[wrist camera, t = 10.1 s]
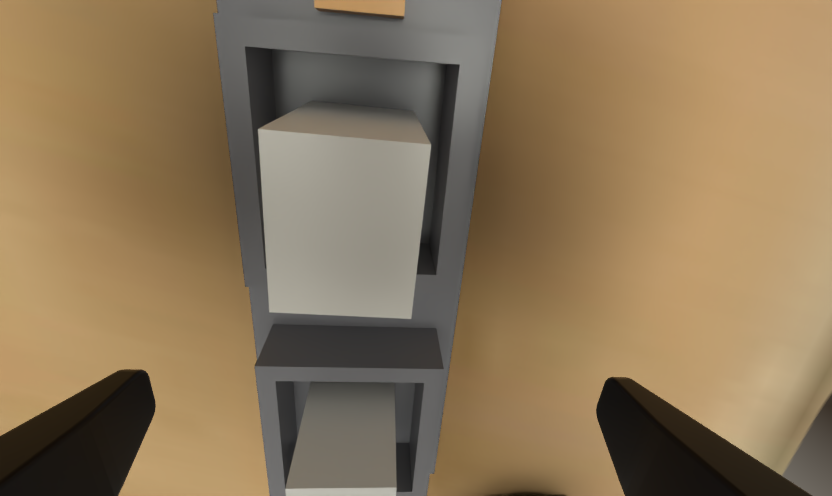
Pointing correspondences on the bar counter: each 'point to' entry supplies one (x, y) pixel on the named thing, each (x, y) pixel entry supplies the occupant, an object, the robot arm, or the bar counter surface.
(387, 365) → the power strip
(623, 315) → the bar counter surface
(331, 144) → the plug
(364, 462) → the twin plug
